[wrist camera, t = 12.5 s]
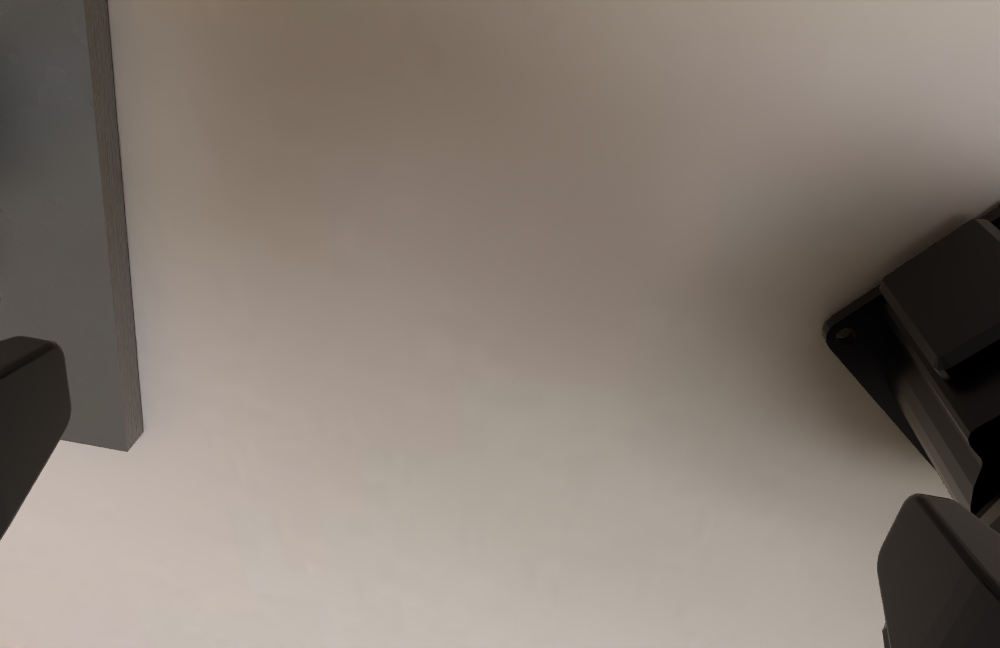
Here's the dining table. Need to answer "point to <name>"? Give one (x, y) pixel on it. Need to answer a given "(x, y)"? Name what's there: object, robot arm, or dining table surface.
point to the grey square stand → (67, 210)
